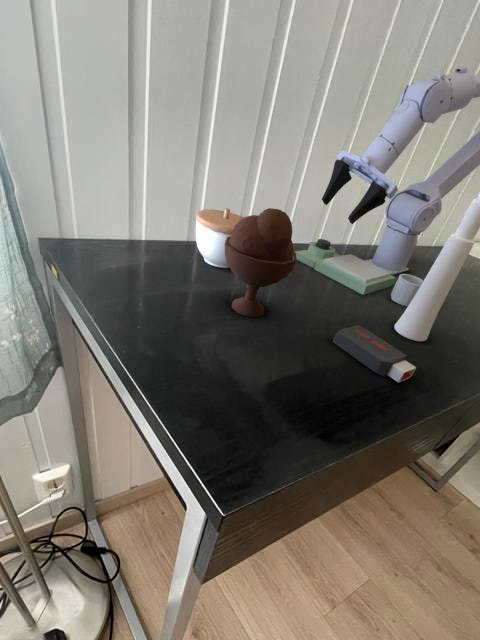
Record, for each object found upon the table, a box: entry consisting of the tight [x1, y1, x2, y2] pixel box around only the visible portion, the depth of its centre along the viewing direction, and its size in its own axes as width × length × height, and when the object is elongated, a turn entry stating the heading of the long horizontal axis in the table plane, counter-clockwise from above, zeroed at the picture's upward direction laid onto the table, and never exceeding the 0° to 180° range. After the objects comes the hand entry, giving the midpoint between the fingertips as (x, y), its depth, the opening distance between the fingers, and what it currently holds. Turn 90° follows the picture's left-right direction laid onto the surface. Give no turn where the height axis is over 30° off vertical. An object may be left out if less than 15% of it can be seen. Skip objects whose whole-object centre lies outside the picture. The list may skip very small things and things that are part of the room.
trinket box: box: [195, 207, 245, 269], centre depth 71 cm, size 11×11×9 cm
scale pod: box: [294, 241, 343, 269], centre depth 87 cm, size 12×6×3 cm, turn 134°
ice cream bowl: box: [225, 207, 298, 318], centre depth 57 cm, size 11×11×15 cm
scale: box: [313, 253, 396, 296], centre depth 83 cm, size 13×13×3 cm
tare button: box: [316, 238, 331, 250], centre depth 85 cm, size 3×3×2 cm
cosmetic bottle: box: [393, 191, 480, 342], centre depth 60 cm, size 6×6×22 cm
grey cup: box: [390, 273, 424, 308], centre depth 77 cm, size 6×6×4 cm
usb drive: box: [332, 325, 417, 384], centre depth 56 cm, size 5×12×3 cm, turn 36°
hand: (336, 211), depth 78 cm, fingers open, 7 cm apart
